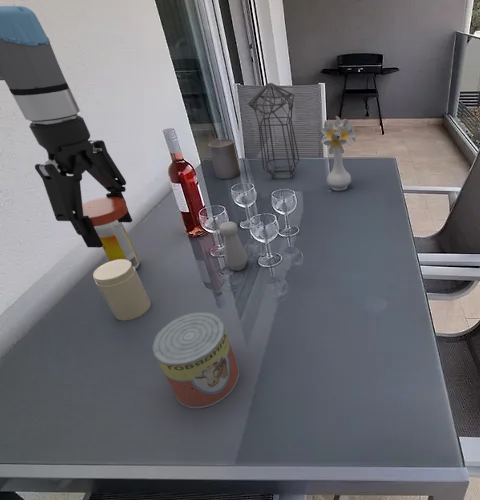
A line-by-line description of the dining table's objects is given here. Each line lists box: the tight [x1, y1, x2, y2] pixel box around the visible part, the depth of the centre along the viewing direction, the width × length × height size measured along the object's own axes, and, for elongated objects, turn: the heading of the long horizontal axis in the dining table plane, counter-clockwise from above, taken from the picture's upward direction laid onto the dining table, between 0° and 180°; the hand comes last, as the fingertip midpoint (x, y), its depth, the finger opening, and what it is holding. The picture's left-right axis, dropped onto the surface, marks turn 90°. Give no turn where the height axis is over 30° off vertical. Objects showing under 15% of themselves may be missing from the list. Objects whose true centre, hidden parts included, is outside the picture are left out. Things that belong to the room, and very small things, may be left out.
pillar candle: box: [207, 138, 241, 180], centre depth 142 cm, size 10×10×15 cm
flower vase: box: [319, 115, 357, 192], centre depth 125 cm, size 13×18×25 cm
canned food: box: [151, 311, 240, 410], centre depth 61 cm, size 11×11×12 cm
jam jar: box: [92, 259, 152, 322], centre depth 77 cm, size 8×8×12 cm
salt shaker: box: [219, 221, 249, 272], centre depth 90 cm, size 6×6×13 cm
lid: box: [73, 196, 129, 226], centre depth 68 cm, size 9×9×2 cm
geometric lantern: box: [247, 82, 300, 180], centre depth 135 cm, size 16×16×35 cm
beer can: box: [94, 220, 140, 270], centre depth 90 cm, size 6×6×15 cm
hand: (111, 233), depth 71 cm, fingers closed on lid, 9 cm apart
